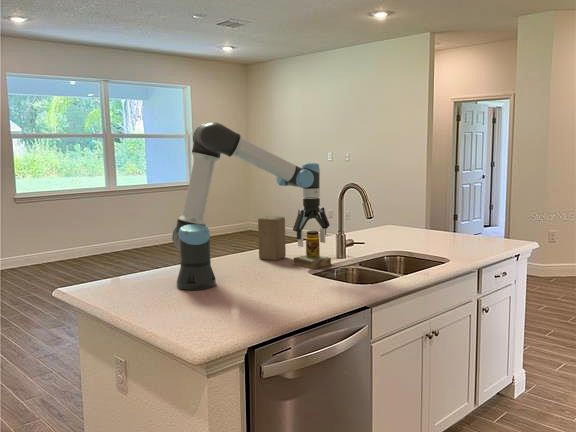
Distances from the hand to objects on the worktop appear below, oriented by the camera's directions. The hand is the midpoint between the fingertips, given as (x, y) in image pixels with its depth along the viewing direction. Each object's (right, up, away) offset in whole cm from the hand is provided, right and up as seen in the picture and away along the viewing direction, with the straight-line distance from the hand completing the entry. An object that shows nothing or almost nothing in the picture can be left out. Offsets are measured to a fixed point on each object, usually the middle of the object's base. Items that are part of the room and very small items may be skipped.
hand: (311, 244), depth 233 cm
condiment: (0, -6, +1) cm, 6 cm away
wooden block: (-18, -8, +16) cm, 25 cm away
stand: (0, -9, +1) cm, 9 cm away
